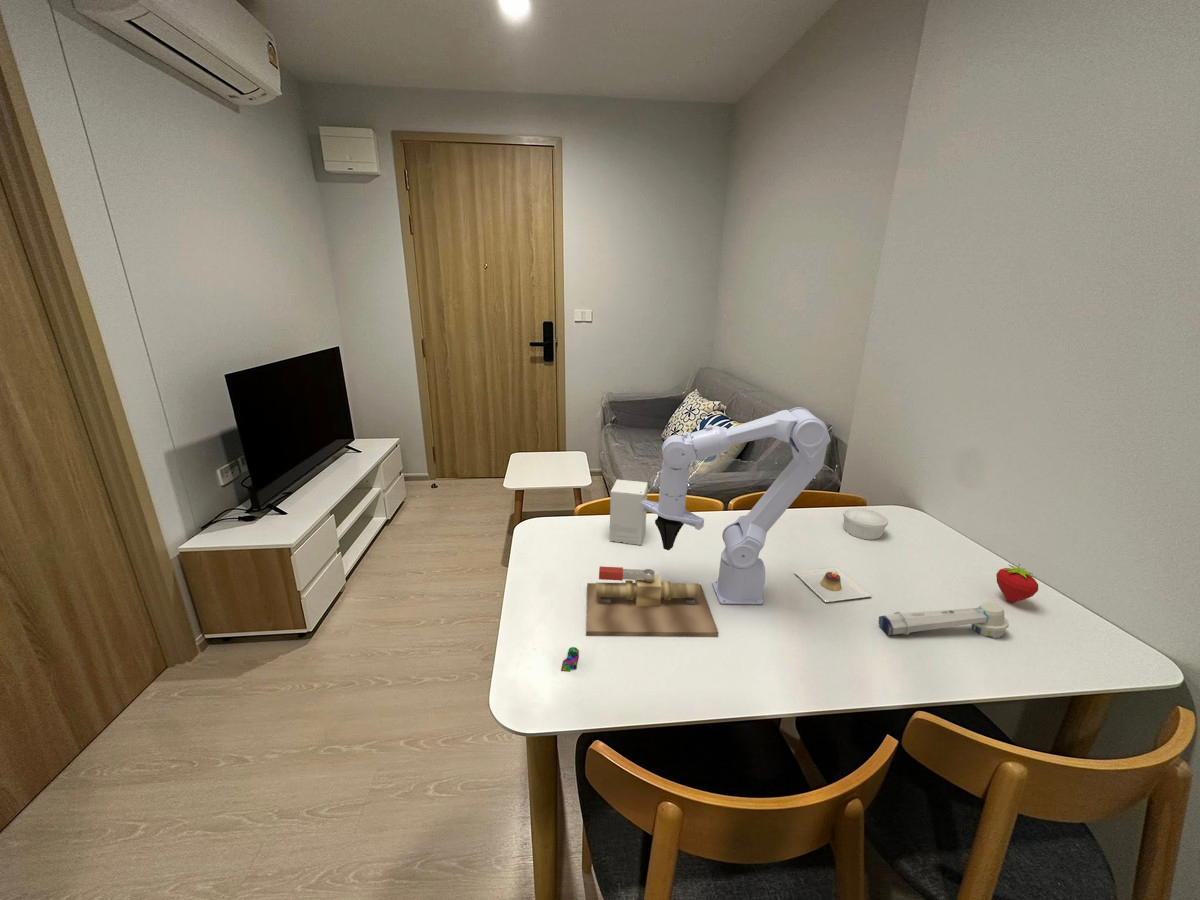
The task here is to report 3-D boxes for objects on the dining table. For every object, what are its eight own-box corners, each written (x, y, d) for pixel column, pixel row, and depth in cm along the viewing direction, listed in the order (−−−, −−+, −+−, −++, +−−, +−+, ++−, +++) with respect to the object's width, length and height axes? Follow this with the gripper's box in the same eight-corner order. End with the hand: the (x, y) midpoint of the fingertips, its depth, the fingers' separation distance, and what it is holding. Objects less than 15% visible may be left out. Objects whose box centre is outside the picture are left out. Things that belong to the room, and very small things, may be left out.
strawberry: (1019, 615, 102) (1033, 575, 98) (982, 594, 108) (995, 556, 105) (1037, 610, 103) (1052, 570, 100) (1000, 590, 110) (1013, 552, 107)
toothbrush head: (877, 608, 97) (997, 592, 97) (874, 634, 99) (992, 619, 99) (893, 625, 92) (1019, 609, 92) (890, 652, 94) (1014, 636, 94)
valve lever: (653, 576, 101) (654, 568, 101) (654, 582, 99) (654, 574, 98) (599, 573, 102) (599, 565, 101) (598, 579, 99) (599, 572, 99)
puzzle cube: (563, 656, 88) (563, 646, 87) (578, 657, 87) (578, 647, 87) (559, 673, 84) (559, 662, 83) (575, 675, 83) (575, 664, 83)
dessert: (824, 606, 104) (828, 587, 102) (792, 575, 115) (795, 558, 113) (871, 600, 106) (875, 582, 105) (835, 570, 117) (839, 553, 116)
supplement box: (646, 530, 134) (649, 481, 129) (641, 546, 125) (644, 494, 121) (614, 526, 136) (616, 478, 131) (608, 541, 127) (610, 490, 123)
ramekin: (835, 522, 142) (838, 506, 140) (874, 525, 140) (878, 509, 139) (848, 540, 131) (852, 523, 130) (891, 544, 130) (895, 526, 128)
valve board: (700, 588, 108) (702, 565, 106) (718, 636, 93) (721, 611, 91) (587, 586, 108) (587, 564, 106) (586, 635, 92) (586, 609, 90)
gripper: (712, 494, 99) (706, 551, 104) (653, 477, 107) (649, 530, 112) (698, 505, 94) (691, 565, 98) (636, 487, 102) (633, 542, 106)
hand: (668, 547), depth 105 cm, fingers closed
